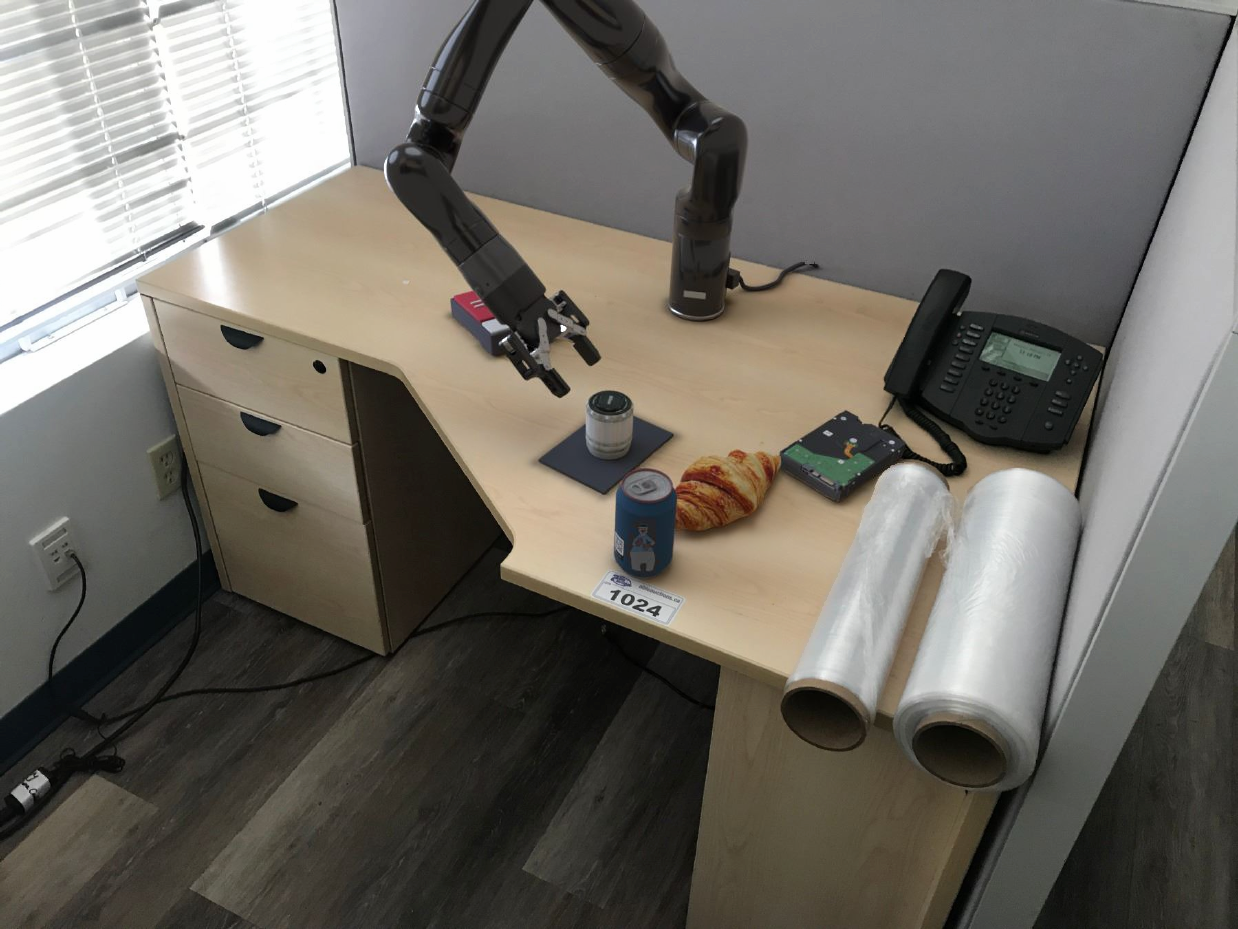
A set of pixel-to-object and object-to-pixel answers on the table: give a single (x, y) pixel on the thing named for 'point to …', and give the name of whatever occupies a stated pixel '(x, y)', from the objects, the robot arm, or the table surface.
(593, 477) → the felt mat
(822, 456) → the disk drive
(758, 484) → the croissant
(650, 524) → the soda can
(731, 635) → the table surface
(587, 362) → the robot arm
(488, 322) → the calculator
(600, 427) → the camera lens
